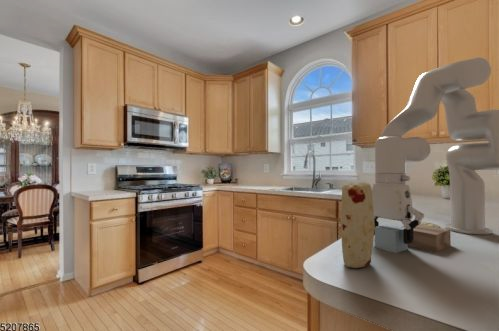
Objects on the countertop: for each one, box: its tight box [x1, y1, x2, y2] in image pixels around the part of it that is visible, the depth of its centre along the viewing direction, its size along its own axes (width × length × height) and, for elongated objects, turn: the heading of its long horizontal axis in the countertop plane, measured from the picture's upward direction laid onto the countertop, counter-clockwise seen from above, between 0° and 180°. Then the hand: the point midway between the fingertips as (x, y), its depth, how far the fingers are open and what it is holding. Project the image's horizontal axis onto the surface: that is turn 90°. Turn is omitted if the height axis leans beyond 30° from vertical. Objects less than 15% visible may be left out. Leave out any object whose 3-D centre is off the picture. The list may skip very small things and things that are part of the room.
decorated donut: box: [419, 221, 442, 228], centre depth 86 cm, size 10×11×4 cm
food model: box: [340, 181, 375, 269], centre depth 59 cm, size 10×7×20 cm
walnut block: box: [401, 225, 452, 253], centre depth 75 cm, size 10×10×5 cm
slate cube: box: [374, 224, 409, 254], centre depth 71 cm, size 6×6×6 cm
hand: (390, 238), depth 71 cm, fingers open, 9 cm apart
